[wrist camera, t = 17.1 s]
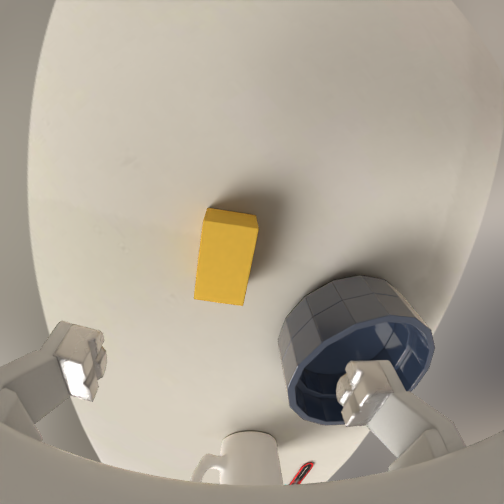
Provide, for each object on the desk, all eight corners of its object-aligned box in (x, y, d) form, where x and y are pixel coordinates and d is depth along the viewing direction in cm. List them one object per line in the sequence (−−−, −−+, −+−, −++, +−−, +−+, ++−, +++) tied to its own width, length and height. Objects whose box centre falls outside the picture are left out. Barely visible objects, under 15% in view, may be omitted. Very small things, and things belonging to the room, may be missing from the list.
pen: (316, 460, 32) (317, 463, 32) (291, 493, 38) (292, 496, 37) (302, 461, 32) (303, 465, 31) (280, 493, 37) (280, 496, 37)
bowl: (407, 259, 20) (447, 297, 15) (394, 360, 25) (417, 401, 20) (269, 287, 21) (279, 339, 15) (284, 386, 25) (293, 436, 20)
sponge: (207, 207, 18) (203, 219, 16) (256, 214, 18) (259, 228, 16) (197, 279, 20) (193, 299, 18) (242, 285, 20) (243, 306, 18)
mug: (290, 436, 29) (305, 529, 18) (258, 459, 31) (265, 542, 20) (207, 414, 26) (203, 524, 15) (182, 440, 28) (174, 533, 17)
